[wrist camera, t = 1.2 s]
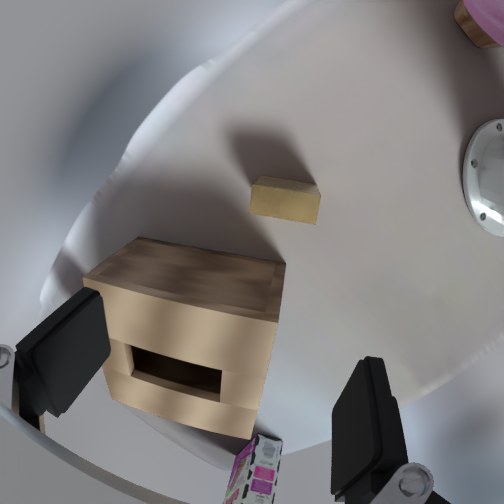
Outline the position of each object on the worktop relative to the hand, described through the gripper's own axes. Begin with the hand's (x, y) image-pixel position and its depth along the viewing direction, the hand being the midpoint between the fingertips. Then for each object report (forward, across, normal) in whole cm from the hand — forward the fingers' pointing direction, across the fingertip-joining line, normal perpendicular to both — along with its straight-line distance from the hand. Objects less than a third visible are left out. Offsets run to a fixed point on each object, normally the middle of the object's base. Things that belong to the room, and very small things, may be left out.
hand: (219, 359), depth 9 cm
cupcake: (+20, -17, -26) cm, 37 cm away
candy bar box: (+19, -5, +41) cm, 45 cm away
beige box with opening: (+19, +6, +13) cm, 24 cm away
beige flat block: (+19, -1, -2) cm, 19 cm away
